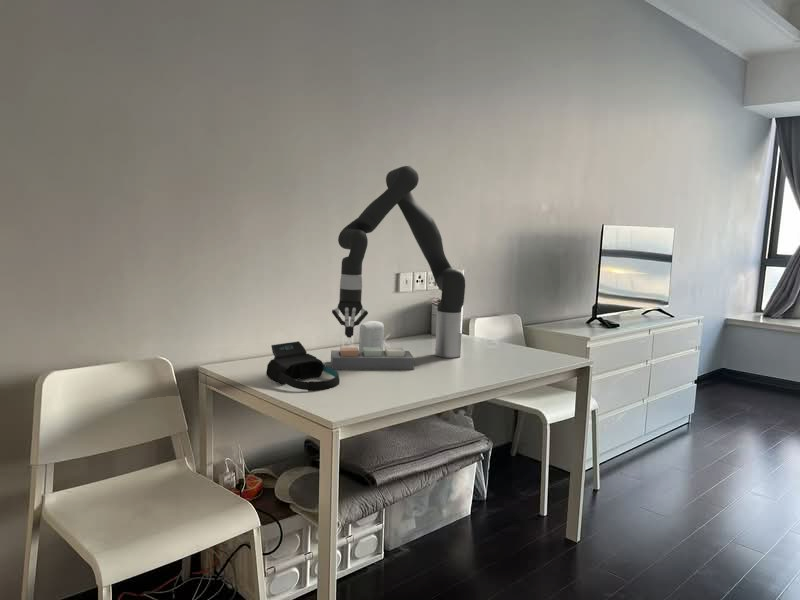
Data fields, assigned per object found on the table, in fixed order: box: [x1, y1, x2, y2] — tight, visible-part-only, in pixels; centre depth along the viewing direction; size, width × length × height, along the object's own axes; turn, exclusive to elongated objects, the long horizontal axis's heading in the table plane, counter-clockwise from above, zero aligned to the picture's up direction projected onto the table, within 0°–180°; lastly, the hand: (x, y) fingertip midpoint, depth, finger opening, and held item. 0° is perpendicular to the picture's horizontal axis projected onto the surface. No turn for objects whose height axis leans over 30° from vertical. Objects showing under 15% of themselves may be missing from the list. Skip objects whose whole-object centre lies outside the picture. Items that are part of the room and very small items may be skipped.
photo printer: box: [358, 320, 385, 351], centre depth 240 cm, size 10×4×12 cm, turn 134°
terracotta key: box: [339, 346, 359, 356], centre depth 218 cm, size 6×6×3 cm
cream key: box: [384, 347, 406, 357], centre depth 221 cm, size 6×6×3 cm
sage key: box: [363, 347, 382, 356], centre depth 220 cm, size 6×6×3 cm
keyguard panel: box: [330, 349, 415, 371], centre depth 220 cm, size 28×12×4 cm, turn 99°
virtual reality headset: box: [265, 340, 340, 392], centre depth 194 cm, size 19×22×10 cm
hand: (348, 337), depth 218 cm, fingers closed
